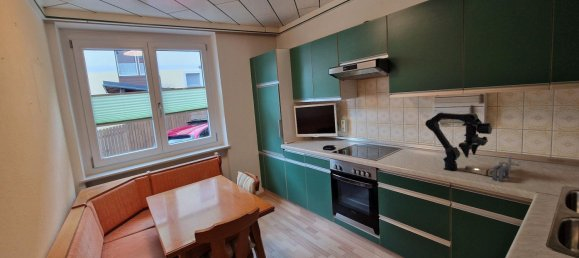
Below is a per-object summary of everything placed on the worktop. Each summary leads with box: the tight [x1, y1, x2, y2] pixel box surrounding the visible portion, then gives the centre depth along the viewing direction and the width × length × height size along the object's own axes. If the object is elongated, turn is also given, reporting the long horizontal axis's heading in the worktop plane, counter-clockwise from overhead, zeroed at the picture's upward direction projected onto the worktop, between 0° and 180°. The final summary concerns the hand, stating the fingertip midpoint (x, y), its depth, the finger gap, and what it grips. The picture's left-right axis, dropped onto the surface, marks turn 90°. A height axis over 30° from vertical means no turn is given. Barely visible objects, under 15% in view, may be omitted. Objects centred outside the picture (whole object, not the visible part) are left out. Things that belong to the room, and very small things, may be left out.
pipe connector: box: [498, 155, 521, 172], centre depth 164 cm, size 10×10×10 cm
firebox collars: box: [491, 163, 510, 183], centre depth 153 cm, size 4×11×8 cm, turn 121°
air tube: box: [464, 165, 493, 178], centre depth 164 cm, size 16×4×4 cm
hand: (470, 156), depth 166 cm, fingers open, 9 cm apart
